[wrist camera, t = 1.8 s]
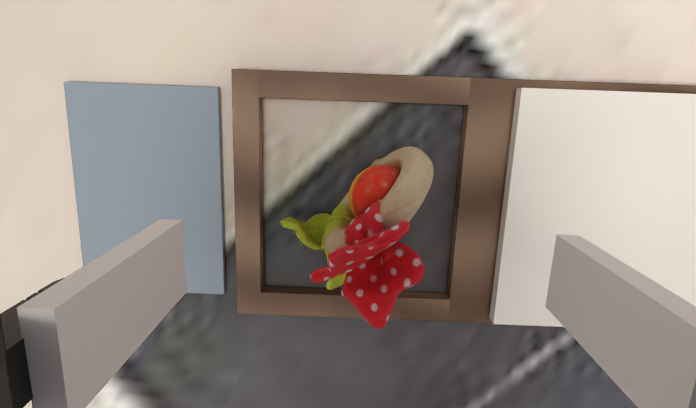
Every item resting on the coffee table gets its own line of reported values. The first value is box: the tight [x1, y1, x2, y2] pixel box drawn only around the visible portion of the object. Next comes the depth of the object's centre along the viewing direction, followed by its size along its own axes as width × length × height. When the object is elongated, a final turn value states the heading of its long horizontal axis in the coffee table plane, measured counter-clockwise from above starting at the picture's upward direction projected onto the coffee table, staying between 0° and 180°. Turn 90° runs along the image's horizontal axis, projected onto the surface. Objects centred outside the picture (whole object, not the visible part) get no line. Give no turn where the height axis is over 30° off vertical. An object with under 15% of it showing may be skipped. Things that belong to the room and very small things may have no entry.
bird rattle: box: [280, 146, 434, 329], centre depth 22 cm, size 6×11×9 cm
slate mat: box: [64, 82, 226, 294], centre depth 27 cm, size 13×9×1 cm
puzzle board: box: [232, 69, 696, 323], centre depth 26 cm, size 15×30×1 cm, turn 88°
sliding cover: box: [489, 88, 696, 327], centre depth 23 cm, size 14×14×5 cm
